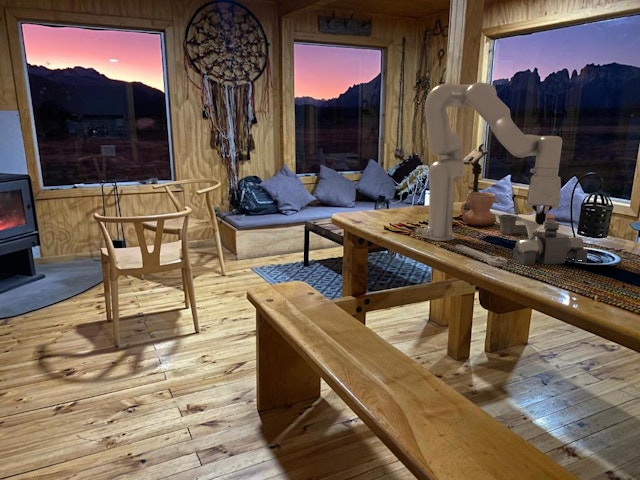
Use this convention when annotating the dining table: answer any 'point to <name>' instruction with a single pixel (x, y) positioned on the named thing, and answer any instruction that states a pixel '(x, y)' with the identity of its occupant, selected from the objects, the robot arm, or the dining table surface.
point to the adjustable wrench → (483, 256)
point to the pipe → (511, 225)
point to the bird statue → (475, 168)
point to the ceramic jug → (479, 209)
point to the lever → (551, 223)
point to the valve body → (549, 248)
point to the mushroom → (530, 223)
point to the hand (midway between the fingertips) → (539, 223)
